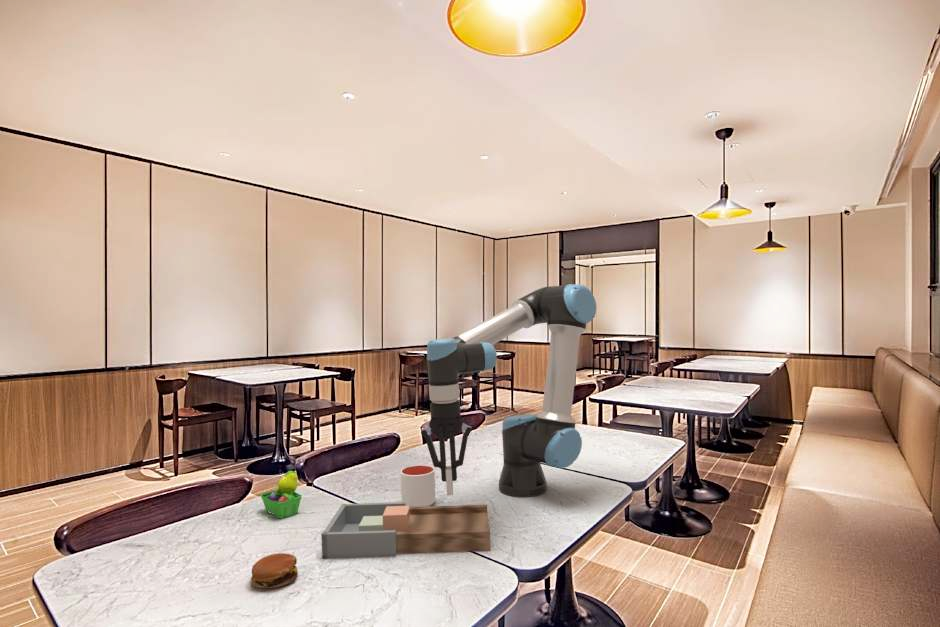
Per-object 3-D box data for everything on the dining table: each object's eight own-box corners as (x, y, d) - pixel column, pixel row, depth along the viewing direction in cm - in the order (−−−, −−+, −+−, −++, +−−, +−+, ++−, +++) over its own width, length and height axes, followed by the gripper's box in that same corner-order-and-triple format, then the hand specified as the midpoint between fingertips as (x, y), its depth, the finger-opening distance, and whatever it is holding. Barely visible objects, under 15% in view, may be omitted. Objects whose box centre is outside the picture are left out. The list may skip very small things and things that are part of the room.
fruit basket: (259, 512, 149) (258, 473, 149) (288, 503, 155) (287, 466, 155) (278, 522, 141) (277, 481, 141) (307, 512, 147) (306, 473, 147)
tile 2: (410, 521, 131) (409, 505, 131) (407, 530, 125) (407, 514, 125) (387, 522, 131) (386, 506, 131) (383, 531, 125) (382, 515, 125)
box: (406, 522, 138) (405, 502, 138) (396, 555, 118) (395, 532, 118) (342, 524, 138) (342, 504, 138) (322, 558, 118) (321, 534, 118)
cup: (430, 511, 145) (429, 476, 145) (396, 509, 147) (395, 475, 147) (439, 498, 155) (438, 465, 155) (407, 497, 157) (406, 464, 157)
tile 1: (387, 530, 131) (386, 515, 131) (383, 541, 125) (383, 525, 125) (364, 531, 131) (363, 516, 131) (359, 542, 125) (358, 525, 125)
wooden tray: (487, 521, 136) (487, 504, 136) (490, 550, 119) (489, 531, 120) (405, 524, 136) (405, 507, 136) (396, 553, 119) (396, 534, 119)
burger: (247, 578, 111) (246, 556, 111) (290, 565, 116) (290, 544, 116) (257, 598, 103) (256, 575, 103) (303, 583, 108) (303, 561, 108)
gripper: (470, 396, 132) (475, 486, 132) (420, 399, 132) (425, 489, 132) (470, 401, 124) (476, 497, 125) (417, 404, 124) (423, 500, 125)
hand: (450, 493), depth 128 cm, fingers closed
